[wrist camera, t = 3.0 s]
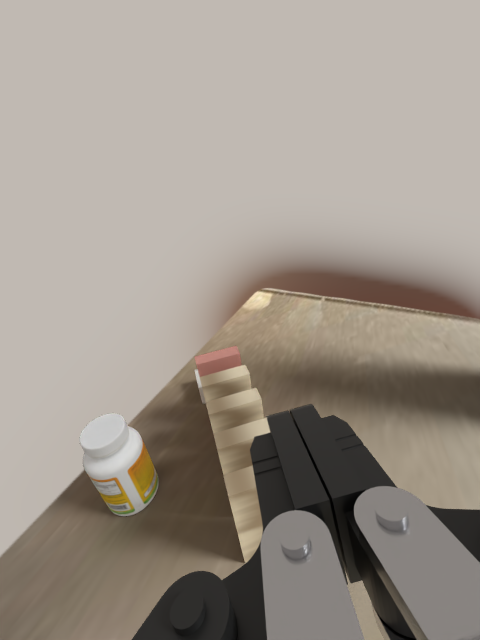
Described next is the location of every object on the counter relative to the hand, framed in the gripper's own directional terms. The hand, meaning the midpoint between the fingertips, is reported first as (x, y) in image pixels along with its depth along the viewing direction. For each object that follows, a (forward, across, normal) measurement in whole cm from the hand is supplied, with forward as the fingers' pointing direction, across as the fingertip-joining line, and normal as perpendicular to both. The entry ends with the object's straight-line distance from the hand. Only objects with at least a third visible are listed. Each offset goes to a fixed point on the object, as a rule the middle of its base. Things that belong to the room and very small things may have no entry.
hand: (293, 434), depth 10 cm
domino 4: (+16, +3, +18) cm, 24 cm away
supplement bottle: (+20, +16, +16) cm, 30 cm away
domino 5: (+13, +3, +19) cm, 23 cm away
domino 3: (+20, +4, +17) cm, 26 cm away
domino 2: (+24, +4, +16) cm, 29 cm away
